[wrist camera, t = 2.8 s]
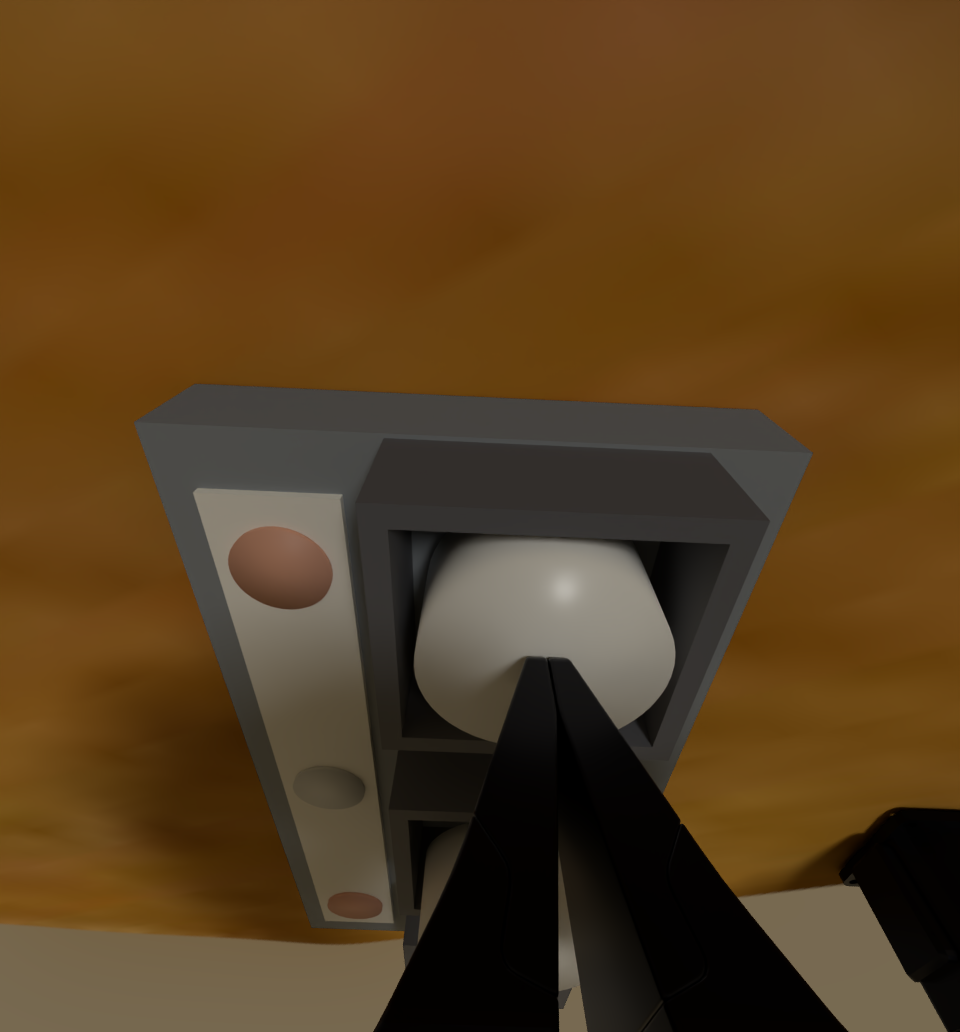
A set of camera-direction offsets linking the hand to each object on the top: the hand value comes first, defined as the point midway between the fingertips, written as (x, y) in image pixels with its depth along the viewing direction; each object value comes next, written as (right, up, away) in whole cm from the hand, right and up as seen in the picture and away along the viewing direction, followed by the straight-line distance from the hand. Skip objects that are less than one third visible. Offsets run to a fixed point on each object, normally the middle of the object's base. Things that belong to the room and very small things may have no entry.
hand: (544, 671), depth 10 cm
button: (0, +1, +2) cm, 2 cm away
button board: (-2, -5, +10) cm, 11 cm away
